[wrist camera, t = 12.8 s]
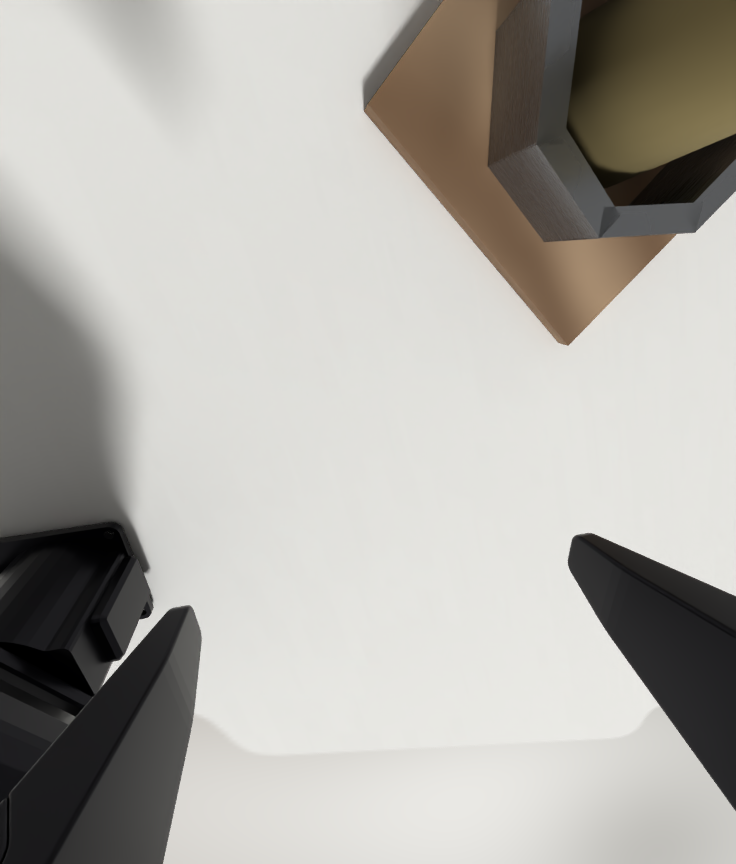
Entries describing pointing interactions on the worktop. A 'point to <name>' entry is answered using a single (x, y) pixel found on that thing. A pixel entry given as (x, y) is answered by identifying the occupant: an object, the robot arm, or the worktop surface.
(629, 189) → the walnut plate
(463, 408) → the worktop surface
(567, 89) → the metal collar
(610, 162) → the cork
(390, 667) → the worktop surface
